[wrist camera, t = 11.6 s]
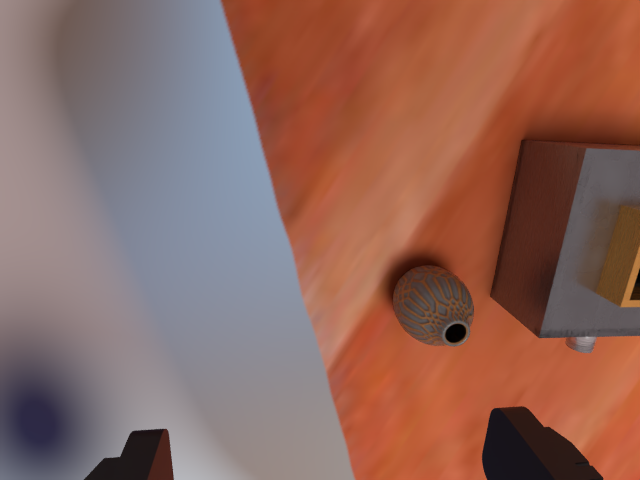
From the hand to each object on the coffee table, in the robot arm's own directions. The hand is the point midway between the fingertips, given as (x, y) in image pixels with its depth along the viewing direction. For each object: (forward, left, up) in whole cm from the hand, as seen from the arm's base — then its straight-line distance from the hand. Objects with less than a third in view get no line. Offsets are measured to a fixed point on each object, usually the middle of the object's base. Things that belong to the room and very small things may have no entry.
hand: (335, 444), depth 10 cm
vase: (+9, +14, -28) cm, 32 cm away
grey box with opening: (+4, +30, -28) cm, 41 cm away
